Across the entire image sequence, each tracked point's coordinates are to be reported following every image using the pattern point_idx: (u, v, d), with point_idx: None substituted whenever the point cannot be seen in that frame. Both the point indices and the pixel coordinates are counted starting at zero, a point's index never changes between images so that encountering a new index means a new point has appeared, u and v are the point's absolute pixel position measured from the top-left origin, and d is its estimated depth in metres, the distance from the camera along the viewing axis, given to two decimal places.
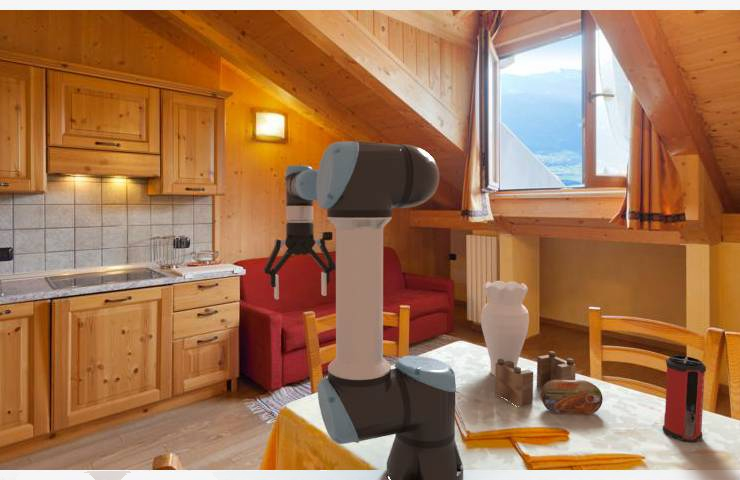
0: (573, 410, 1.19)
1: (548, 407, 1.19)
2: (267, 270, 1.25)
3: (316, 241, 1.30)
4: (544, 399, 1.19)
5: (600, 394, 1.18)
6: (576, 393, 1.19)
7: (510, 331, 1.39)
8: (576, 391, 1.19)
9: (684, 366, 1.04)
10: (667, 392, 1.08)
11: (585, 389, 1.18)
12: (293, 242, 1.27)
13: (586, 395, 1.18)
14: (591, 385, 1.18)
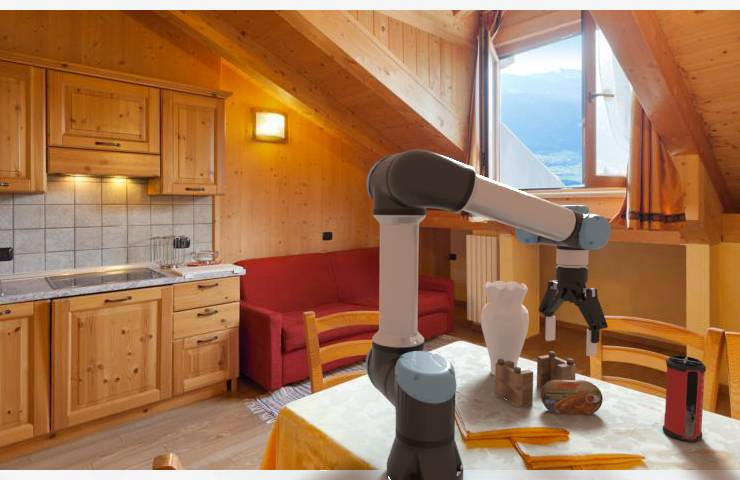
0: (573, 410, 1.19)
1: (548, 407, 1.19)
2: (540, 309, 1.26)
3: (584, 290, 1.13)
4: (544, 399, 1.19)
5: (600, 394, 1.18)
6: (576, 393, 1.19)
7: (510, 331, 1.39)
8: (576, 391, 1.19)
9: (684, 366, 1.04)
10: (667, 392, 1.08)
11: (585, 389, 1.18)
12: (561, 286, 1.19)
13: (586, 395, 1.18)
14: (591, 385, 1.18)
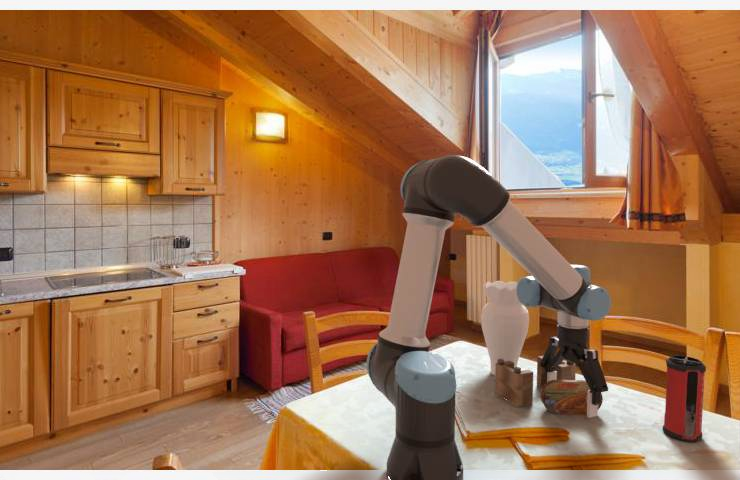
0: (573, 410, 1.19)
1: (548, 407, 1.19)
2: (541, 363, 1.27)
3: (585, 352, 1.14)
4: (544, 399, 1.19)
5: (600, 394, 1.18)
6: (576, 393, 1.19)
7: (510, 331, 1.39)
8: (576, 391, 1.19)
9: (684, 366, 1.04)
10: (667, 392, 1.08)
11: (585, 389, 1.18)
12: (562, 344, 1.20)
13: (586, 395, 1.18)
14: None
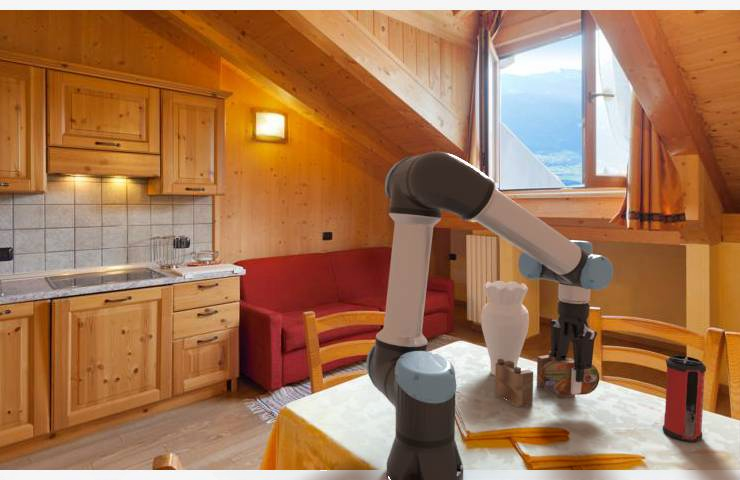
0: None
1: (548, 389, 1.18)
2: (552, 353, 1.23)
3: (585, 329, 1.14)
4: (544, 381, 1.18)
5: (597, 373, 1.19)
6: None
7: (510, 331, 1.39)
8: None
9: (684, 366, 1.04)
10: (667, 392, 1.08)
11: None
12: (562, 319, 1.20)
13: (584, 375, 1.18)
14: None
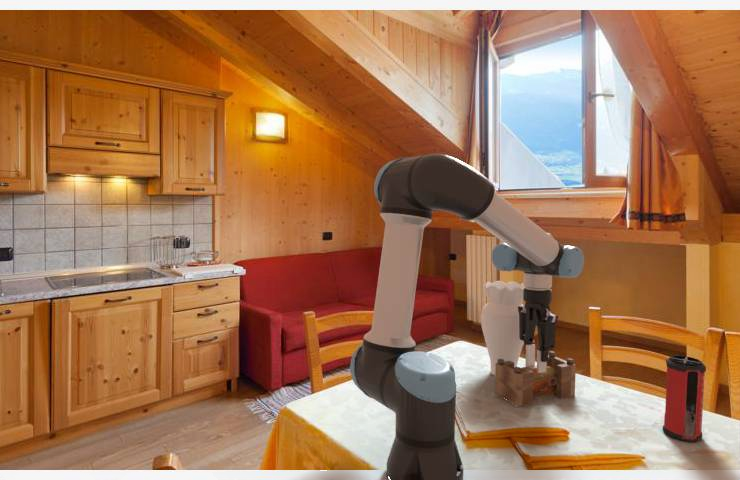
0: (538, 393, 1.30)
1: None
2: (520, 336, 1.34)
3: (547, 314, 1.25)
4: None
5: None
6: (541, 378, 1.30)
7: (510, 331, 1.39)
8: (541, 376, 1.30)
9: (684, 366, 1.04)
10: (667, 392, 1.08)
11: (548, 373, 1.31)
12: (528, 305, 1.31)
13: (548, 378, 1.31)
14: (553, 369, 1.31)
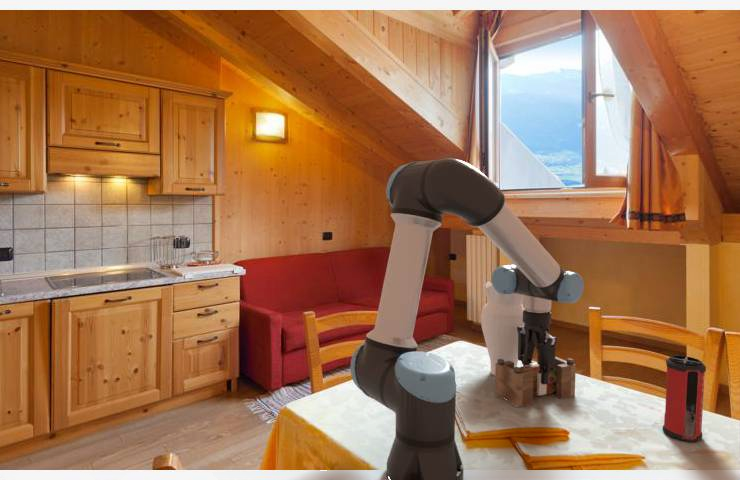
0: None
1: None
2: (519, 357, 1.35)
3: (546, 336, 1.25)
4: None
5: None
6: None
7: (510, 331, 1.39)
8: None
9: (684, 366, 1.04)
10: (667, 392, 1.08)
11: None
12: (527, 326, 1.31)
13: None
14: None
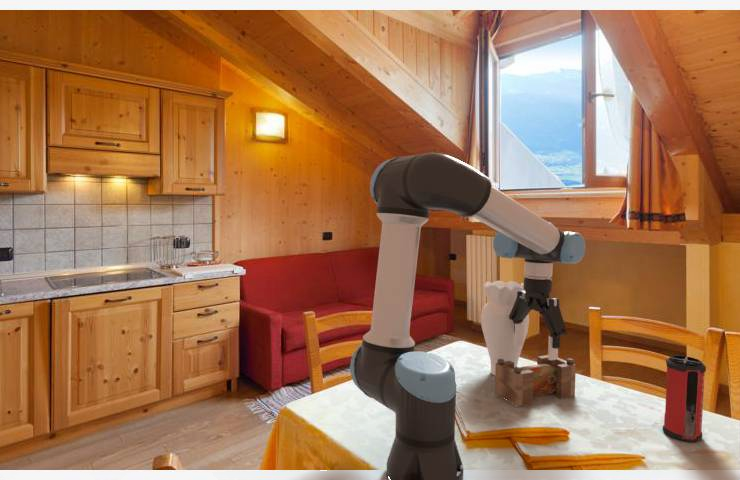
0: (538, 392, 1.30)
1: None
2: (510, 316, 1.37)
3: (548, 300, 1.24)
4: None
5: None
6: (540, 376, 1.30)
7: (510, 331, 1.39)
8: (540, 374, 1.30)
9: (684, 366, 1.04)
10: (667, 392, 1.08)
11: (547, 371, 1.31)
12: (528, 296, 1.30)
13: (548, 377, 1.31)
14: (551, 367, 1.31)
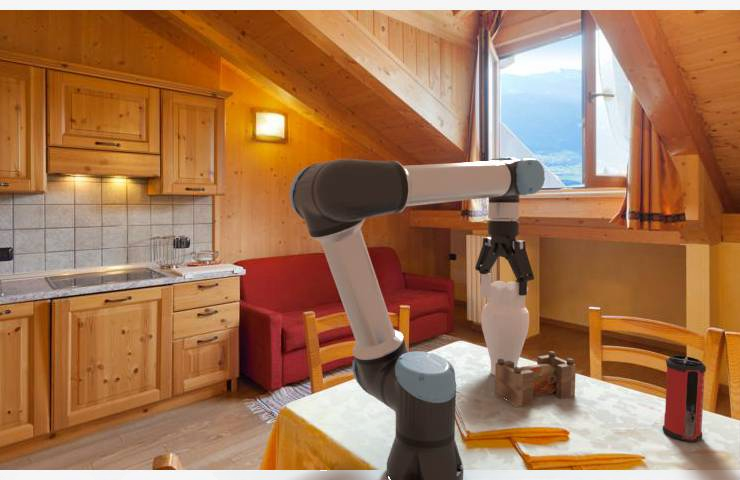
0: (538, 392, 1.30)
1: None
2: (476, 267, 1.26)
3: (513, 243, 1.12)
4: None
5: None
6: (540, 376, 1.30)
7: (510, 331, 1.39)
8: (540, 374, 1.30)
9: (684, 366, 1.04)
10: (667, 392, 1.08)
11: (547, 371, 1.31)
12: (494, 241, 1.18)
13: (548, 377, 1.31)
14: (551, 367, 1.31)
